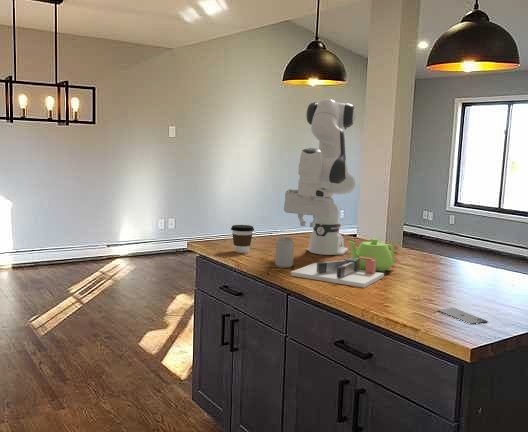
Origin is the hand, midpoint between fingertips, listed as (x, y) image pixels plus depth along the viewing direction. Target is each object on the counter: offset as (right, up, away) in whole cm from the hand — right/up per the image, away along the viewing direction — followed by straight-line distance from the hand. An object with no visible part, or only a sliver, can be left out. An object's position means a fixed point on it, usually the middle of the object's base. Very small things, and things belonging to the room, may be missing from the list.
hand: (307, 226), depth 219 cm
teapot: (+27, -19, +16) cm, 37 cm away
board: (+12, -20, +2) cm, 23 cm away
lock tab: (+23, -18, +4) cm, 30 cm away
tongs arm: (+10, -18, +2) cm, 20 cm away
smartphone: (+44, -27, -46) cm, 69 cm away
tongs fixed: (+14, -18, 0) cm, 23 cm away
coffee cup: (-27, -13, +45) cm, 54 cm away
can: (-9, -17, +16) cm, 25 cm away
